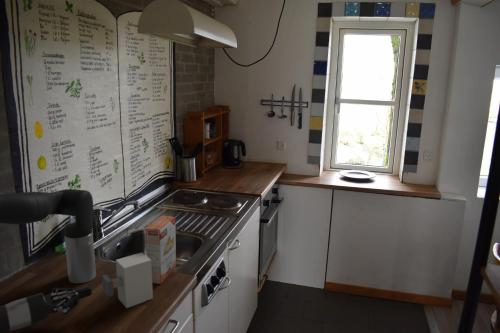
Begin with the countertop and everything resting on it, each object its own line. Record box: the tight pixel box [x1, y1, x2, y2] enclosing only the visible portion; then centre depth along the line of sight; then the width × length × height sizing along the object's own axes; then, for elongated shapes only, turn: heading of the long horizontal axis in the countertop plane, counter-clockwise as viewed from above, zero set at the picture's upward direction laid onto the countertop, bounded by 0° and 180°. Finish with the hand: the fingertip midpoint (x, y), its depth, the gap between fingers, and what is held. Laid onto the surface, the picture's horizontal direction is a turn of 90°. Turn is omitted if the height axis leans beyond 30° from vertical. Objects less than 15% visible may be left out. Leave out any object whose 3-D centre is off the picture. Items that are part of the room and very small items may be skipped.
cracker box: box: [145, 215, 177, 285], centre depth 141 cm, size 14×6×21 cm, turn 168°
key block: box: [115, 252, 154, 309], centre depth 126 cm, size 7×9×14 cm
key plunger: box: [101, 273, 123, 298], centre depth 122 cm, size 5×8×5 cm, turn 130°
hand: (90, 290), depth 117 cm, fingers closed
